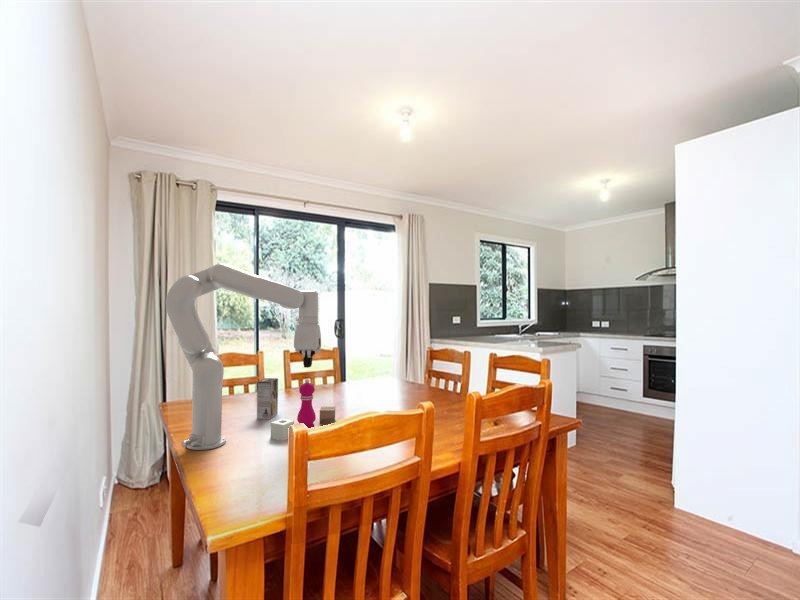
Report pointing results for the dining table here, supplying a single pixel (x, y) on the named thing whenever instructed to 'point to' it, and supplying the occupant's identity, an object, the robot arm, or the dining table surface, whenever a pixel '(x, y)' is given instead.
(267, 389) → the coffee box
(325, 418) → the walnut cube
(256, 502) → the dining table surface
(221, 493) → the dining table surface
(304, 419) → the pepper mill
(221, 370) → the robot arm
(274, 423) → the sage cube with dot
